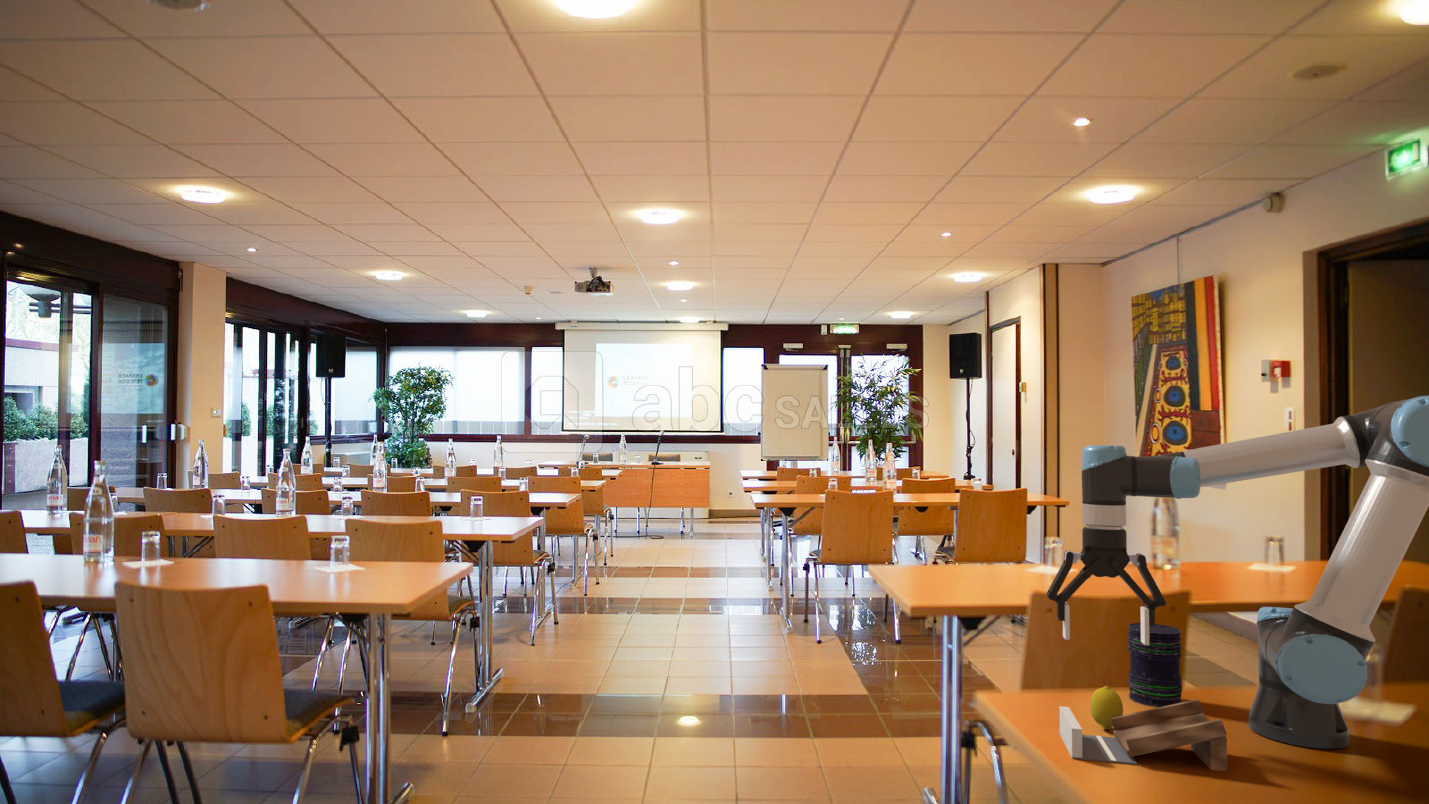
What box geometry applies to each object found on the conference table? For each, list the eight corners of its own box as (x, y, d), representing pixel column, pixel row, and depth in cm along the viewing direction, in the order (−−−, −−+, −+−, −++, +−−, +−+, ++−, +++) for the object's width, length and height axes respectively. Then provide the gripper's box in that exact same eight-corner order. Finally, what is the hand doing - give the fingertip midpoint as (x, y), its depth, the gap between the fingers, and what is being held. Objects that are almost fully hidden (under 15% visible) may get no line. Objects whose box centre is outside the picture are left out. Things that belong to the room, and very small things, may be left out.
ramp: (1204, 747, 143) (1203, 699, 143) (1229, 773, 132) (1228, 721, 132) (1110, 739, 146) (1109, 692, 147) (1126, 763, 135) (1126, 712, 136)
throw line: (1100, 737, 147) (1100, 736, 147) (1116, 762, 135) (1116, 760, 135) (1095, 737, 147) (1095, 735, 147) (1111, 762, 136) (1111, 760, 136)
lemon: (1127, 736, 148) (1126, 691, 149) (1094, 733, 149) (1094, 689, 150) (1118, 726, 154) (1118, 683, 154) (1087, 723, 155) (1086, 680, 155)
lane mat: (1119, 739, 146) (1119, 737, 146) (1137, 765, 135) (1137, 763, 135) (1059, 734, 149) (1059, 732, 149) (1072, 758, 137) (1072, 756, 137)
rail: (1069, 735, 148) (1068, 707, 149) (1082, 759, 137) (1082, 729, 137) (1059, 734, 149) (1059, 706, 149) (1072, 758, 137) (1071, 728, 137)
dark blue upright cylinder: (1163, 711, 163) (1162, 635, 163) (1118, 697, 171) (1117, 625, 172) (1192, 703, 168) (1191, 630, 168) (1147, 691, 176) (1146, 621, 177)
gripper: (1170, 527, 154) (1172, 641, 153) (1031, 522, 160) (1031, 631, 159) (1183, 531, 147) (1185, 650, 146) (1036, 526, 153) (1037, 640, 151)
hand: (1105, 641), depth 152 cm, fingers open, 13 cm apart
